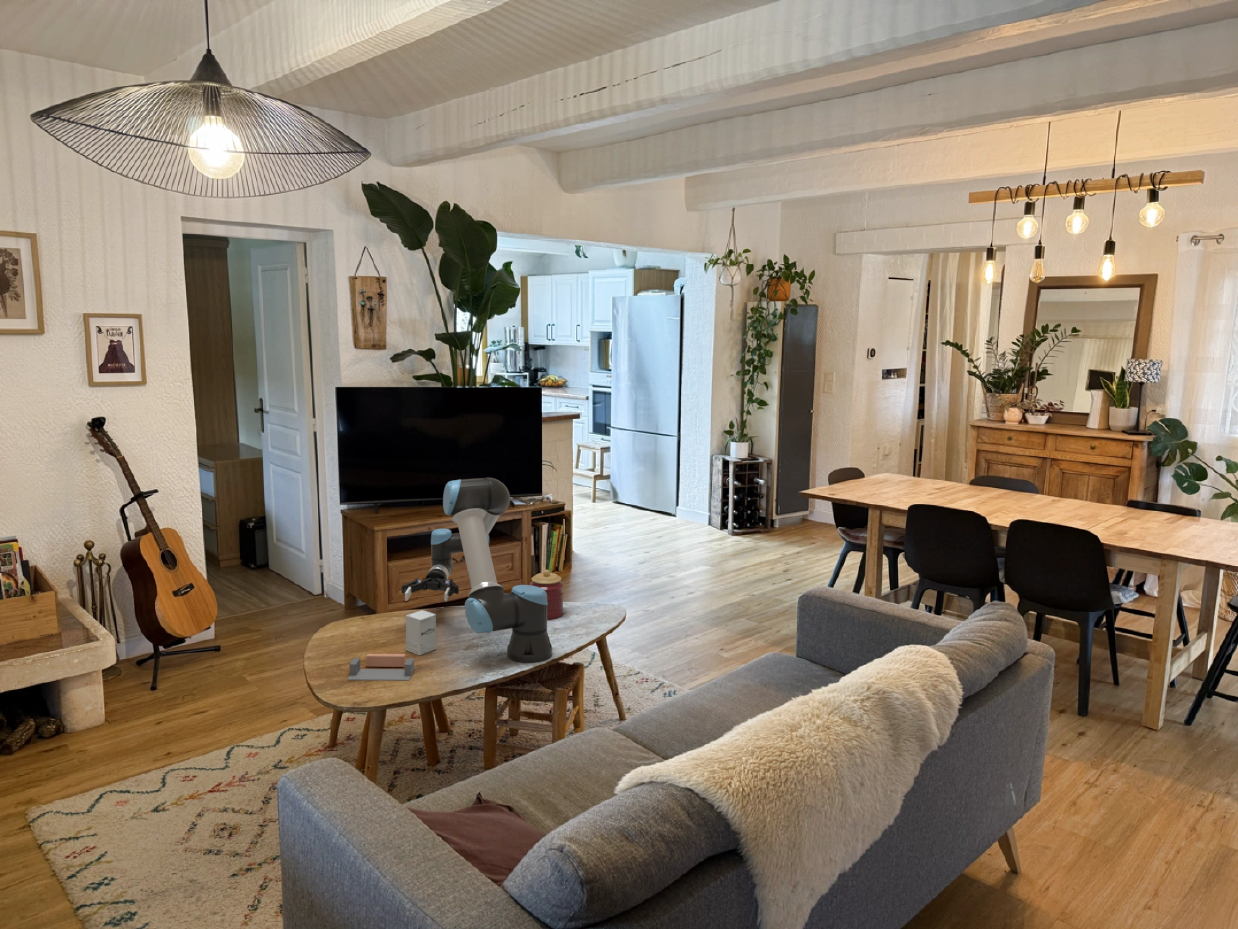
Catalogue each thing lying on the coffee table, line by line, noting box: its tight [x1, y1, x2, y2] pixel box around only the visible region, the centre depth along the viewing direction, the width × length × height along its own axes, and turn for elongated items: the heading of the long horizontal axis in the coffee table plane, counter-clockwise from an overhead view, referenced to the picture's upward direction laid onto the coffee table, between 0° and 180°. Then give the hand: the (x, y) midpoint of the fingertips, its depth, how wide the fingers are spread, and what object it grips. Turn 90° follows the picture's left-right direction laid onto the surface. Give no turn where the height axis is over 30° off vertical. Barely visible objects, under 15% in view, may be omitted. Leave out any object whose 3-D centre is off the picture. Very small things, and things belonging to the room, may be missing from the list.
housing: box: [346, 657, 415, 681], centre depth 264 cm, size 8×19×4 cm, turn 92°
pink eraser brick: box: [365, 653, 407, 668], centre depth 270 cm, size 2×12×4 cm, turn 92°
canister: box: [529, 569, 564, 620], centre depth 320 cm, size 13×13×18 cm
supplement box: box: [405, 609, 437, 656], centre depth 284 cm, size 7×7×13 cm
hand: (425, 597), depth 292 cm, fingers open, 13 cm apart
